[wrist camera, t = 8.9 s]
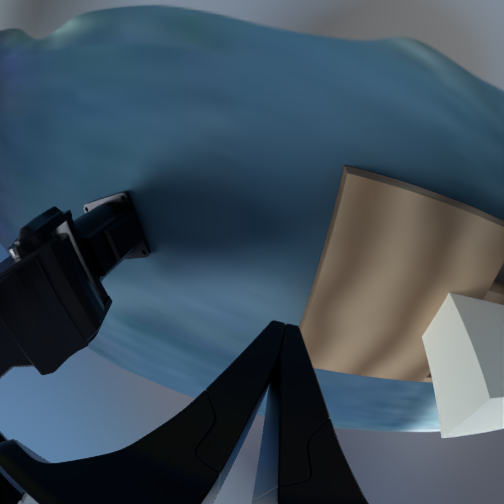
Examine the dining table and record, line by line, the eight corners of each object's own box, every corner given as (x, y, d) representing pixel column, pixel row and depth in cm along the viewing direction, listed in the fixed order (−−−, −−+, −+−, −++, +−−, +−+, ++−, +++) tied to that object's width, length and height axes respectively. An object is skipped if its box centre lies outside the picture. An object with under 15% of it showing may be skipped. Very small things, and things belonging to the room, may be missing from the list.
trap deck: (293, 344, 27) (284, 392, 22) (343, 165, 17) (354, 189, 12) (482, 368, 23) (493, 404, 18) (558, 250, 14) (586, 282, 9)
